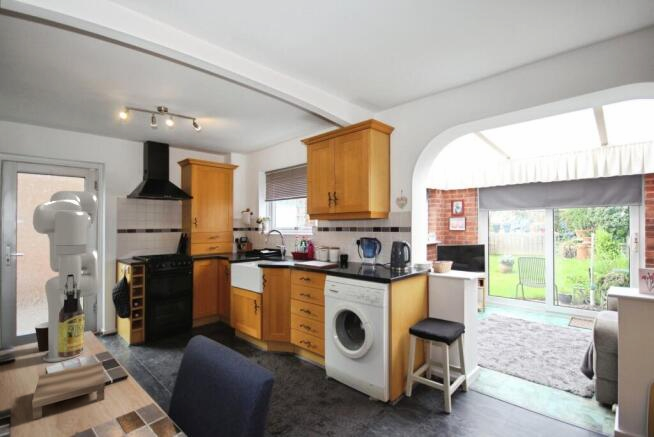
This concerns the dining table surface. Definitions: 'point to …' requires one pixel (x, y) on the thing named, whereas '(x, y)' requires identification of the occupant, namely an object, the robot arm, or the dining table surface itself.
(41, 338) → the coffee mug
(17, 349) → the dining table surface
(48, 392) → the walnut shelf
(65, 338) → the sauce bottle
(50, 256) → the robot arm
